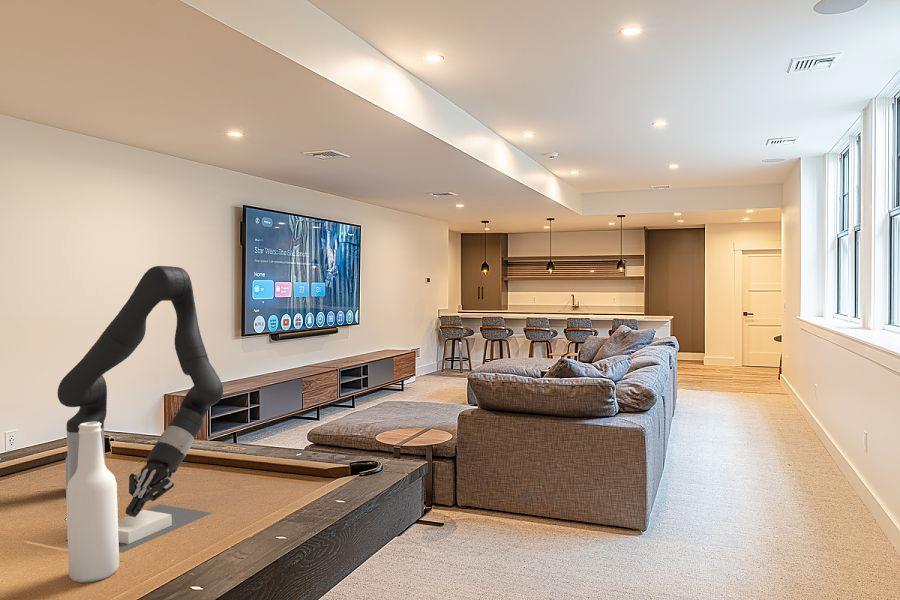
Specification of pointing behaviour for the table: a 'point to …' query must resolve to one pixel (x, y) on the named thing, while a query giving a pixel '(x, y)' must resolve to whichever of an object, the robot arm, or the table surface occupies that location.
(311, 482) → the table surface
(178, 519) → the mat
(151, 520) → the tile
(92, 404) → the robot arm
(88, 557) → the alcohol
